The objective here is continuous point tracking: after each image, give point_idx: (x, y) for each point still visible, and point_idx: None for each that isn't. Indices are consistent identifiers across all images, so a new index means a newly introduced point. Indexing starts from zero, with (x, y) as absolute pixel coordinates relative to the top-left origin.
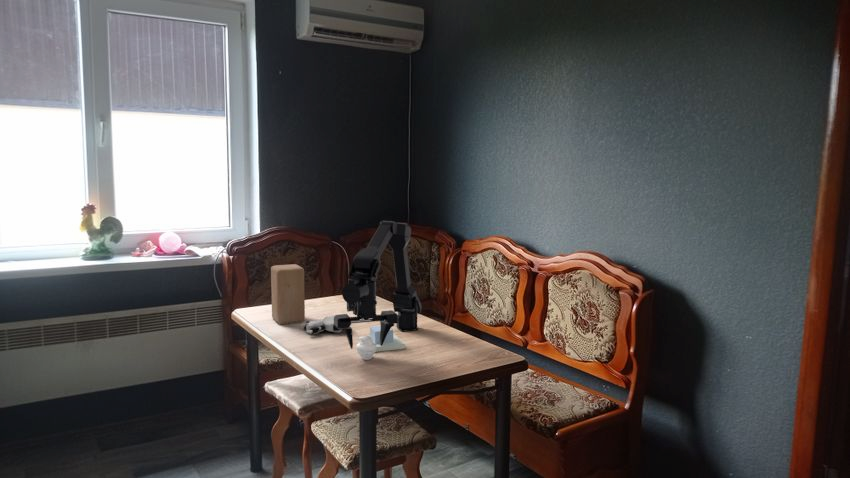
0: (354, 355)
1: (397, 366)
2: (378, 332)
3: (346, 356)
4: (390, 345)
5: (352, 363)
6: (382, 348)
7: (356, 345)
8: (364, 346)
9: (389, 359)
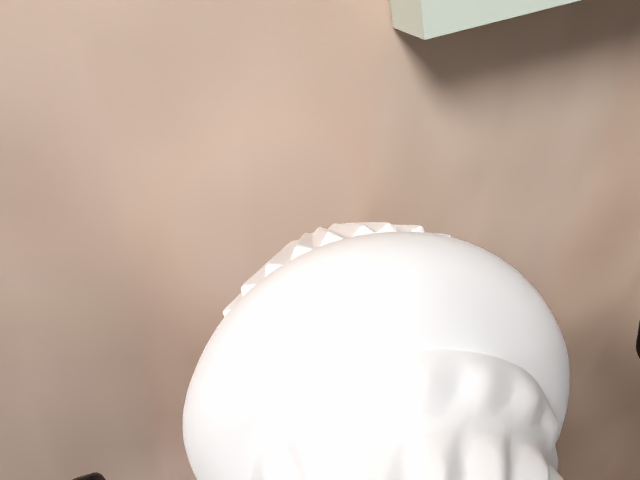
0: (152, 172)
1: (585, 471)
2: None
3: (17, 216)
4: None
5: (161, 448)
6: None
7: (191, 450)
8: None
9: (589, 322)
